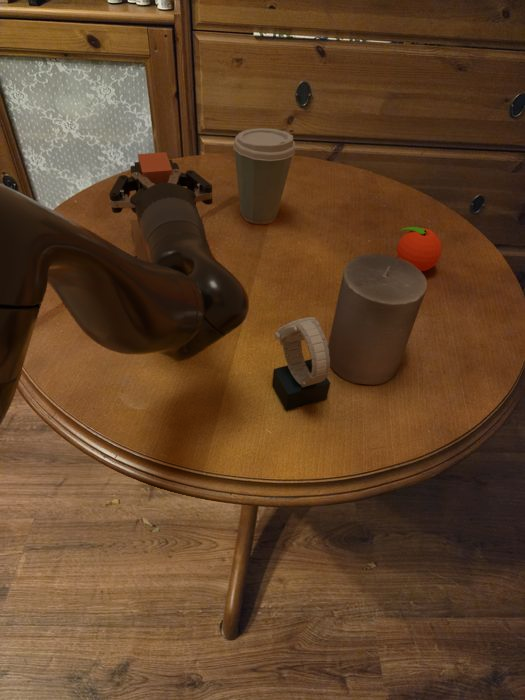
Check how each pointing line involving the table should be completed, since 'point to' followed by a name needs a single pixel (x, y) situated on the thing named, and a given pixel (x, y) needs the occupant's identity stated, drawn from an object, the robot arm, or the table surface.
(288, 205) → the table surface
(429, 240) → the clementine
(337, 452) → the table surface
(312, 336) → the watch
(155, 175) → the red rectangular block
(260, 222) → the disposable coffee cup
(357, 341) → the pillar candle
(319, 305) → the table surface
